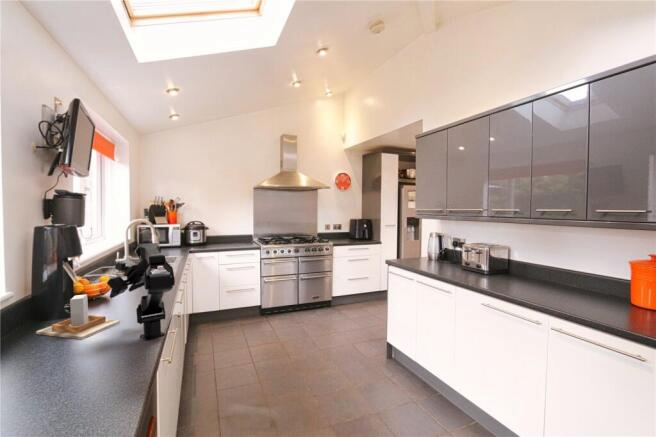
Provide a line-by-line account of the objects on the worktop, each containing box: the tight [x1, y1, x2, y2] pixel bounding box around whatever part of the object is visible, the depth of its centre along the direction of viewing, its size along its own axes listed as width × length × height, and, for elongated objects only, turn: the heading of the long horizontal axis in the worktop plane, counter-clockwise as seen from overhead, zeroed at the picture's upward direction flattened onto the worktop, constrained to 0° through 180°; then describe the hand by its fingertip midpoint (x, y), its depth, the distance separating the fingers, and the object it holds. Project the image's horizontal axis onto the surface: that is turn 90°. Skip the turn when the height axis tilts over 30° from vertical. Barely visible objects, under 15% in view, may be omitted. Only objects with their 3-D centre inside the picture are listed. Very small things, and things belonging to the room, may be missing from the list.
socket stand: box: [35, 314, 121, 340], centre depth 125 cm, size 22×16×3 cm
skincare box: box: [69, 293, 89, 326], centre depth 125 cm, size 6×4×12 cm
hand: (120, 294), depth 126 cm, fingers open, 9 cm apart
